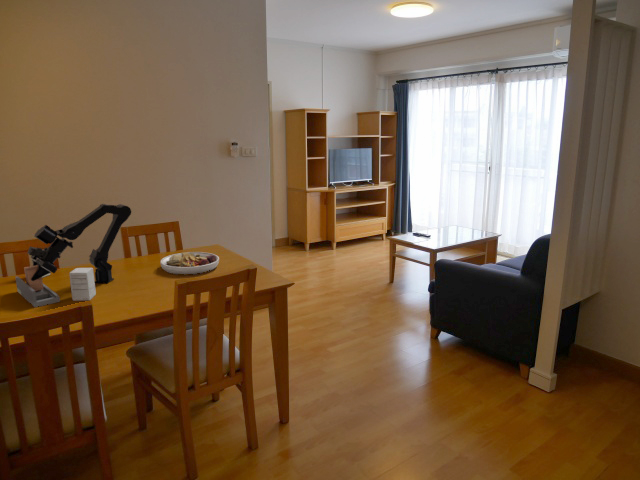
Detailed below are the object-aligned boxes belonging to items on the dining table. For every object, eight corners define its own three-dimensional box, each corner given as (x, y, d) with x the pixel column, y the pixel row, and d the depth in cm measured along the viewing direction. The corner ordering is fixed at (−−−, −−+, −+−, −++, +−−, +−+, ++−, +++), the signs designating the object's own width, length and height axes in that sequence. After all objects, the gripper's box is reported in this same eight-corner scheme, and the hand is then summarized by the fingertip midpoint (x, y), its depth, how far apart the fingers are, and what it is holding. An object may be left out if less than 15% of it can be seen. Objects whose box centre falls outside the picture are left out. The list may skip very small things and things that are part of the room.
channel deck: (17, 291, 207) (15, 276, 205) (41, 286, 213) (39, 272, 212) (34, 307, 189) (32, 291, 187) (60, 301, 196) (58, 286, 194)
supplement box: (79, 294, 204) (76, 267, 201) (96, 294, 205) (93, 267, 202) (71, 300, 197) (68, 272, 194) (89, 300, 197) (86, 272, 194)
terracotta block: (27, 289, 202) (24, 267, 200) (40, 286, 206) (37, 265, 203) (30, 292, 199) (27, 269, 196) (43, 289, 202) (40, 267, 200)
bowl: (150, 275, 233) (149, 260, 232) (175, 259, 262) (174, 245, 261) (207, 278, 230) (207, 263, 228) (226, 261, 259) (226, 248, 257)
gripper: (33, 235, 206) (7, 264, 201) (45, 243, 193) (18, 274, 188) (54, 249, 213) (31, 277, 208) (67, 258, 200) (42, 288, 196)
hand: (30, 278), depth 200 cm, fingers closed on terracotta block, 5 cm apart
